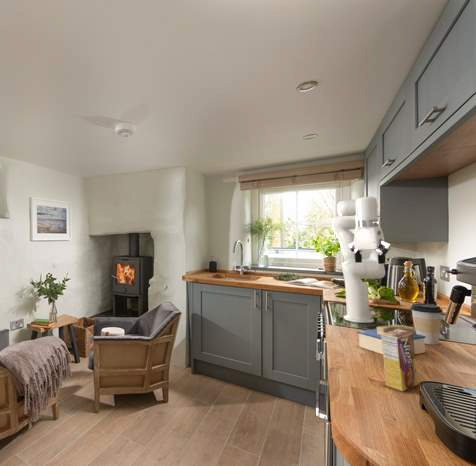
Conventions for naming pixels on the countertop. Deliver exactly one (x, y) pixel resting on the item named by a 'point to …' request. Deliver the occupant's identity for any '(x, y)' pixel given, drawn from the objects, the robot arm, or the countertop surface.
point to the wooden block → (394, 328)
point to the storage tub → (374, 341)
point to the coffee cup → (427, 321)
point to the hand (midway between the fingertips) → (369, 263)
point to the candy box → (399, 359)
